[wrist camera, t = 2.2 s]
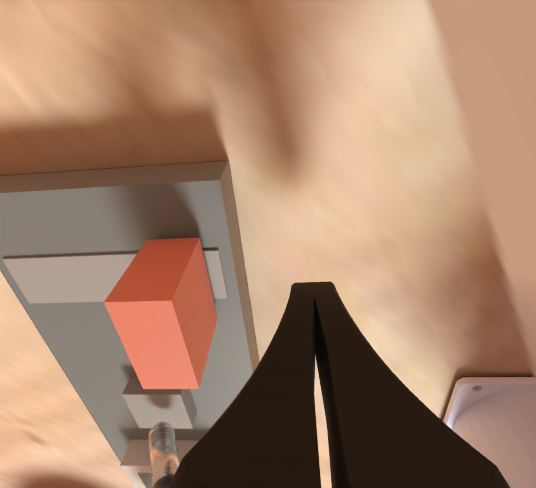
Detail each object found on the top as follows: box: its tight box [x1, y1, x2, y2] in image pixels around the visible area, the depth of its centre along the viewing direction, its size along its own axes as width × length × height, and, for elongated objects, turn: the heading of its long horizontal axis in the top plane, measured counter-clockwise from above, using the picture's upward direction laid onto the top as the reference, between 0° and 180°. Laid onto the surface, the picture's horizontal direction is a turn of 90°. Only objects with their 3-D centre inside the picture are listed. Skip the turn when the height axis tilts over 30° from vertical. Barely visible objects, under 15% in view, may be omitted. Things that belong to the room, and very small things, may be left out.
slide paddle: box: [104, 238, 218, 389], centre depth 12 cm, size 2×4×3 cm, turn 5°
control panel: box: [0, 161, 259, 488], centre depth 19 cm, size 10×24×4 cm, turn 5°
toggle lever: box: [149, 422, 179, 488], centre depth 15 cm, size 2×2×4 cm
